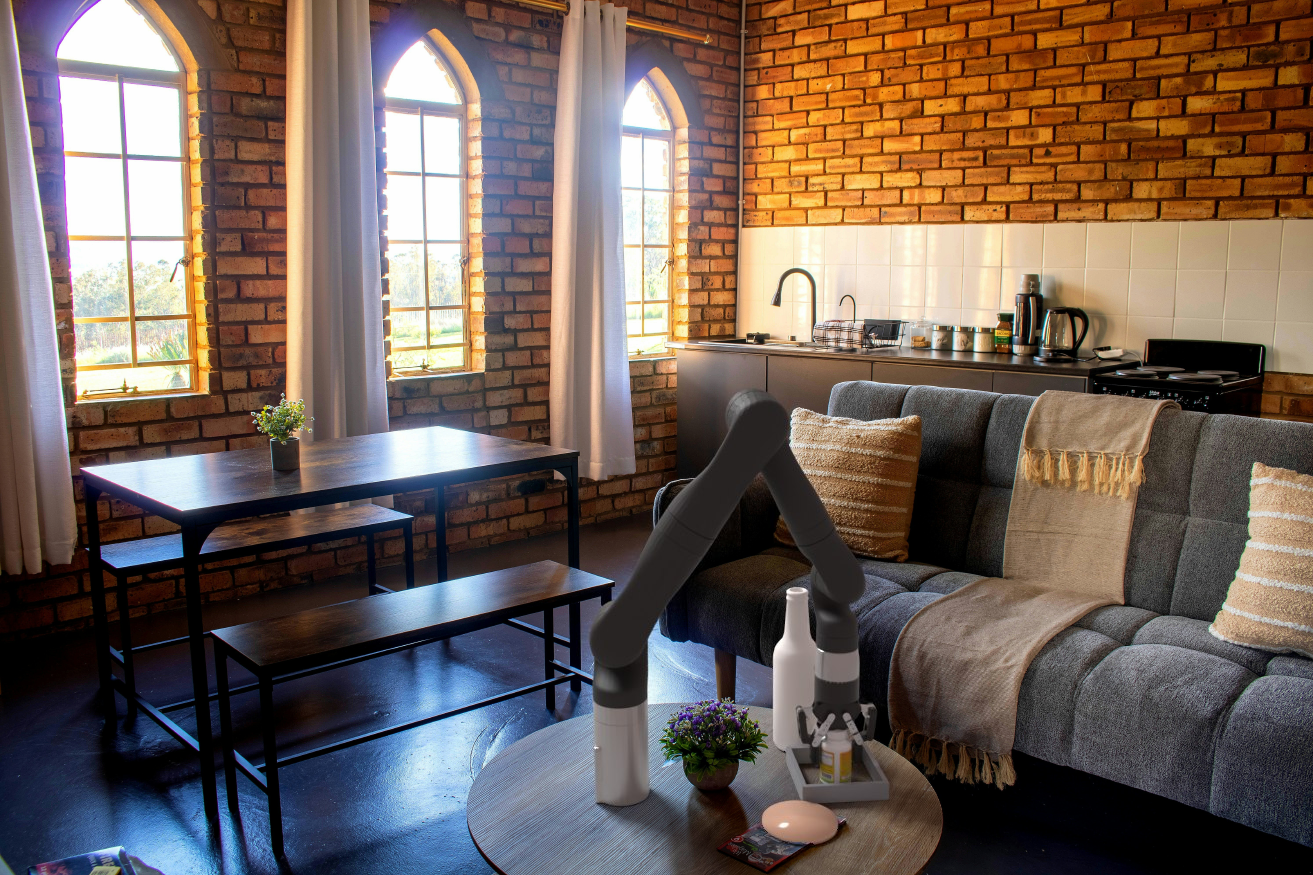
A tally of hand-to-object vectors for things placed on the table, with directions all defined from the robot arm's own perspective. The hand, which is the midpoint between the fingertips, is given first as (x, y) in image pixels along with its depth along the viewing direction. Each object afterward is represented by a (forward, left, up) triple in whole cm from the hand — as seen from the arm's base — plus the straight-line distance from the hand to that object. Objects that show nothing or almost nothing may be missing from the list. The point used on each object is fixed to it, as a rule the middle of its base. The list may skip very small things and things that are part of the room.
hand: (835, 763), depth 175 cm
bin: (0, 0, -3) cm, 3 cm away
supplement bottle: (0, 0, -3) cm, 3 cm away
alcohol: (-4, +14, -3) cm, 15 cm away
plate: (-9, -13, -3) cm, 17 cm away
